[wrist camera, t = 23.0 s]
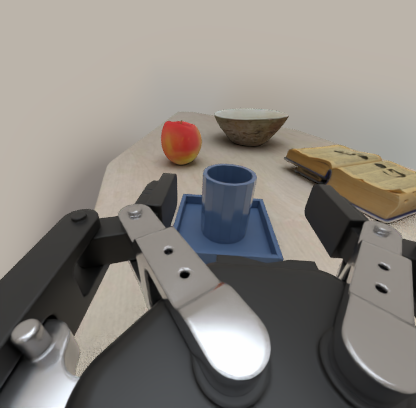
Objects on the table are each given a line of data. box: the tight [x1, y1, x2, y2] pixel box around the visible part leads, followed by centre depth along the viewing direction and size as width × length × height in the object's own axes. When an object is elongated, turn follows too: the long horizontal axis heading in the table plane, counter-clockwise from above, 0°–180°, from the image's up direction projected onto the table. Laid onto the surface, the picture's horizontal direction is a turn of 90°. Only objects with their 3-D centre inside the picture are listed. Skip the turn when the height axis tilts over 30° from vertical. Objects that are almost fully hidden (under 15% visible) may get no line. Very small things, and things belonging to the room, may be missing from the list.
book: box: [284, 145, 416, 223], centre depth 44 cm, size 25×17×6 cm, turn 24°
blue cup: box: [201, 164, 257, 244], centre depth 27 cm, size 6×6×8 cm
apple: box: [161, 121, 202, 165], centre depth 49 cm, size 10×10×10 cm
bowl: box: [214, 109, 288, 146], centre depth 69 cm, size 24×24×10 cm
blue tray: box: [173, 194, 283, 264], centre depth 29 cm, size 13×13×2 cm
